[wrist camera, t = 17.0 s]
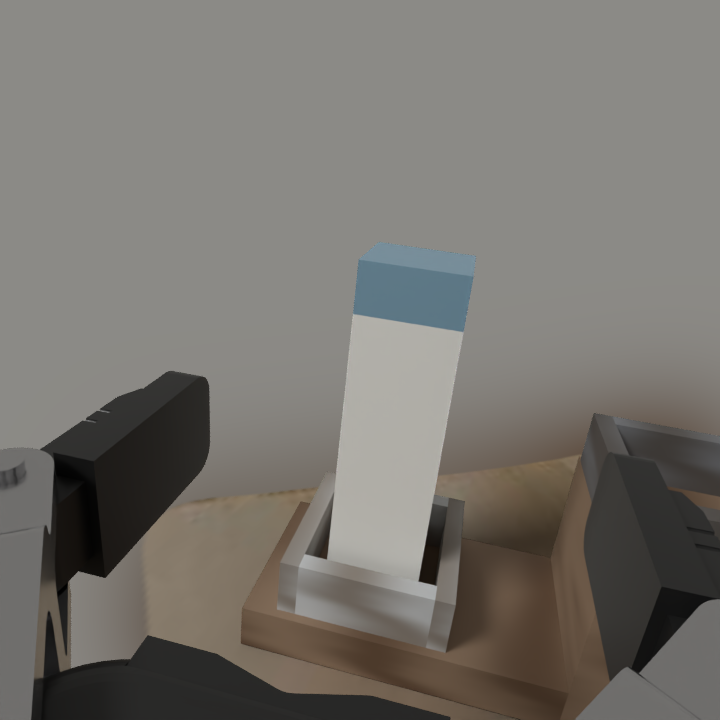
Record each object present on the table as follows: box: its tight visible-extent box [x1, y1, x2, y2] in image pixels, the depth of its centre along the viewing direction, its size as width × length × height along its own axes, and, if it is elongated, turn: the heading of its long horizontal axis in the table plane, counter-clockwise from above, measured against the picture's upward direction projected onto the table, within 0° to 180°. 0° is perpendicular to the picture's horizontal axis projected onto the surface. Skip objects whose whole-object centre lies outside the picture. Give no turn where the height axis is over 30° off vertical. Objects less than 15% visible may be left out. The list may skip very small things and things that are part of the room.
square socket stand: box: [241, 413, 720, 720], centre depth 25 cm, size 21×8×10 cm, turn 77°
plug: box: [327, 242, 476, 581], centre depth 24 cm, size 4×4×15 cm
